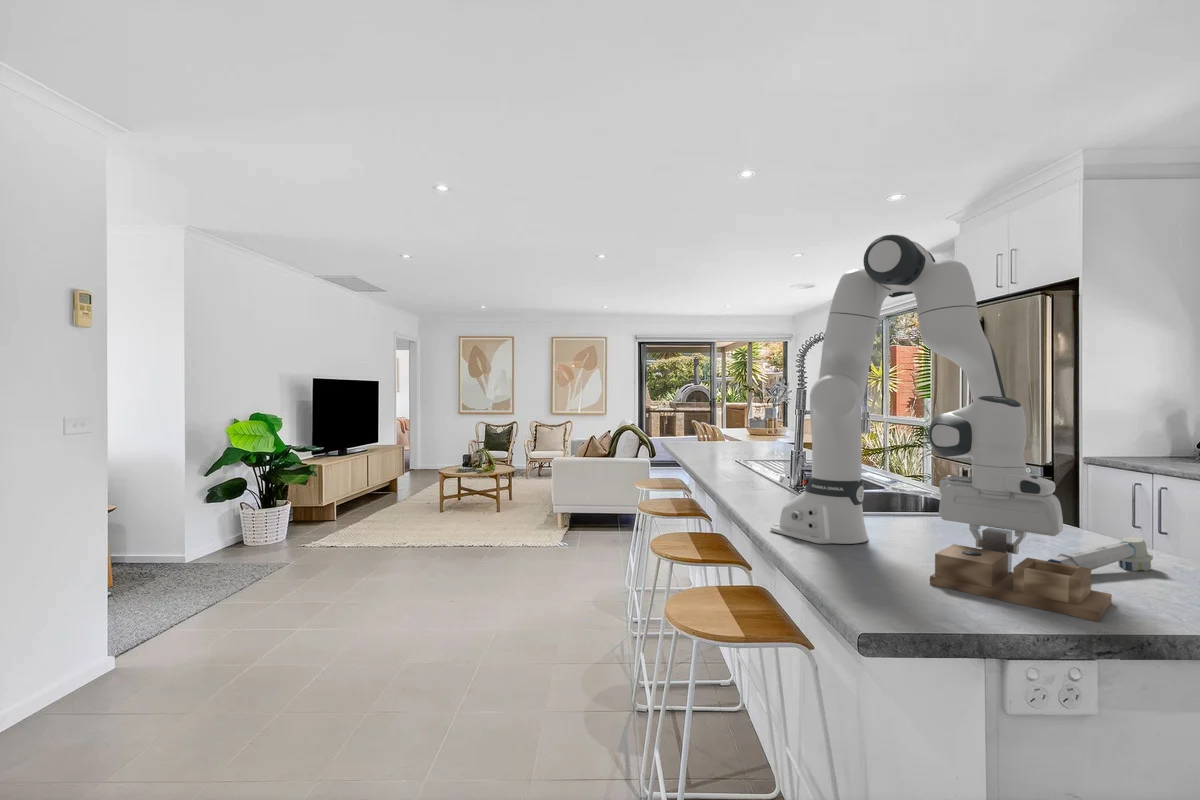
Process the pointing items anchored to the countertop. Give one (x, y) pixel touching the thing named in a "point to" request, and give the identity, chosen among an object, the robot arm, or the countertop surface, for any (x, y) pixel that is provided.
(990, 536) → the grey rectangular block
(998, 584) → the holder
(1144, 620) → the countertop surface
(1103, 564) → the white handle
